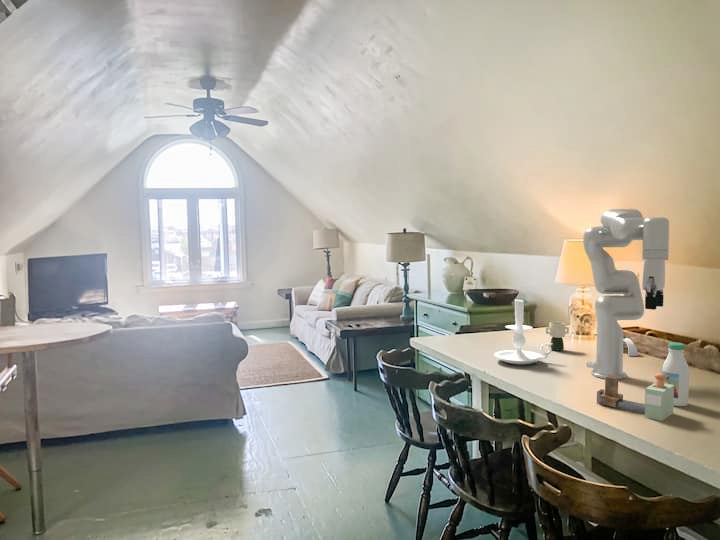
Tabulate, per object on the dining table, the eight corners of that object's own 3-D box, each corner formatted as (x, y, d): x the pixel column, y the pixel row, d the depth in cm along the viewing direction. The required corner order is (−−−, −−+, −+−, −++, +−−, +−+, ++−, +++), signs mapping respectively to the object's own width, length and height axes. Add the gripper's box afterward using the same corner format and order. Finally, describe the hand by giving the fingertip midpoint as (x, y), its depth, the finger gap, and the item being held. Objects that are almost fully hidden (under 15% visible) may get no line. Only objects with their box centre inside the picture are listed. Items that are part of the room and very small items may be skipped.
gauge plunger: (652, 396, 170) (653, 374, 170) (656, 394, 172) (656, 372, 172) (663, 398, 168) (663, 376, 167) (666, 396, 170) (667, 374, 169)
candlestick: (559, 368, 228) (560, 301, 226) (498, 368, 229) (499, 301, 227) (545, 357, 248) (546, 295, 246) (490, 356, 250) (490, 295, 248)
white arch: (592, 346, 271) (593, 332, 271) (614, 345, 273) (615, 331, 272) (622, 357, 248) (622, 341, 247) (646, 356, 250) (646, 340, 249)
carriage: (599, 403, 180) (600, 377, 180) (607, 399, 185) (608, 373, 184) (615, 407, 177) (615, 380, 176) (622, 402, 181) (623, 376, 181)
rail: (596, 403, 182) (596, 391, 182) (601, 400, 185) (601, 389, 185) (648, 414, 171) (648, 402, 171) (652, 411, 173) (652, 399, 173)
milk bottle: (678, 399, 186) (680, 341, 184) (693, 406, 178) (695, 345, 177) (656, 400, 186) (658, 341, 184) (669, 407, 178) (672, 346, 176)
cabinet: (644, 417, 168) (644, 388, 168) (655, 409, 176) (656, 381, 175) (661, 421, 165) (662, 392, 164) (673, 413, 172) (674, 385, 171)
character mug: (565, 348, 266) (566, 321, 265) (571, 351, 259) (571, 324, 258) (543, 348, 266) (543, 322, 265) (548, 351, 259) (548, 324, 258)
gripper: (649, 254, 188) (648, 304, 189) (635, 256, 175) (634, 309, 176) (673, 255, 184) (672, 306, 184) (662, 256, 170) (661, 311, 171)
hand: (654, 307), depth 180 cm, fingers open, 9 cm apart
